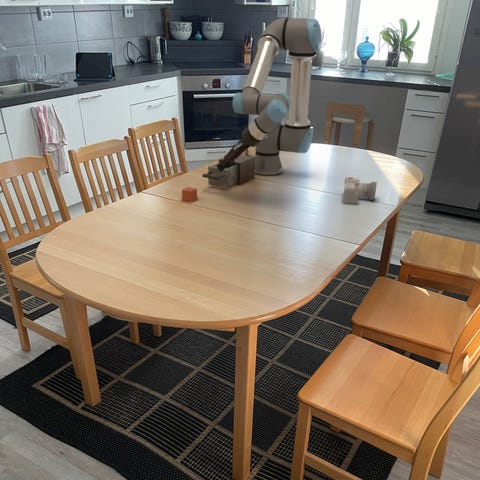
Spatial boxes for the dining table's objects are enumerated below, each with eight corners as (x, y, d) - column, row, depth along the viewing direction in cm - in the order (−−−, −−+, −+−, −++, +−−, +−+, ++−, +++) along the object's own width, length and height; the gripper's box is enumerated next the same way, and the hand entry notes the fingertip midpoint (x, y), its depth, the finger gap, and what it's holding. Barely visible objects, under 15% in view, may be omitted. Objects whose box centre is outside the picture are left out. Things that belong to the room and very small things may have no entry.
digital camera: (368, 215, 204) (372, 194, 197) (335, 208, 209) (338, 187, 201) (377, 195, 215) (381, 174, 208) (346, 189, 219) (349, 168, 212)
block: (182, 200, 204) (181, 189, 202) (188, 197, 207) (188, 186, 205) (190, 202, 202) (190, 191, 200) (197, 199, 206) (196, 188, 203)
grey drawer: (219, 192, 211) (219, 173, 207) (200, 188, 215) (200, 169, 211) (242, 181, 225) (242, 163, 220) (223, 177, 229) (223, 159, 224)
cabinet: (239, 185, 223) (240, 163, 217) (218, 180, 227) (218, 159, 222) (254, 178, 232) (255, 156, 227) (233, 174, 237) (234, 153, 232)
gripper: (252, 144, 188) (216, 180, 204) (268, 137, 197) (232, 172, 214) (240, 127, 187) (205, 165, 203) (257, 122, 197) (222, 158, 213)
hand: (219, 168), depth 208 cm, fingers closed
